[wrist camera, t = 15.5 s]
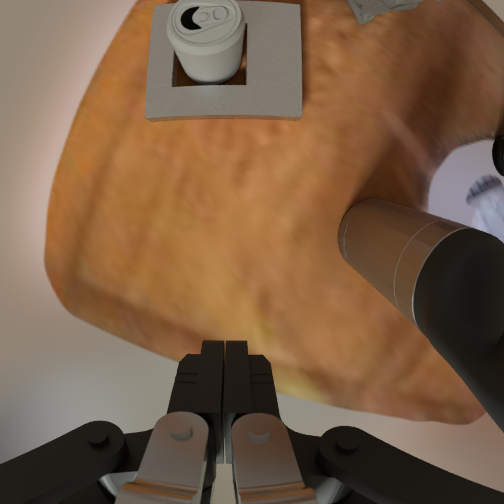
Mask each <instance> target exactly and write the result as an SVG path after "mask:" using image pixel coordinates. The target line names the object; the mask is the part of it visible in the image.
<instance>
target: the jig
mask: <svg viewBox="0 0 504 504" xmlns="http://www.w3.org/2000/svg"><path fill="white" fill-rule="evenodd" d="M236 2H237V3H238V5H239V6H240V8H241V9H242V11H243V13H244V16H245V29H244V34H246V70H245V85H206V86H183V87H177V72H178V56H177V54H176V52H175V50H174V48H173V46H172V44H171V42H170V40H169V38H168V35H167V30H166V25H167V21H168V18H169V14H170V11H171V10H172V8H173V6H174V5H175V4H176V3H171V4H162V5H154V13H153V20H152V29H151V38H150V48H149V59H148V71H147V87H146V107H145V119H147V120H149V121H151V122H160V121H176V120H199V119H263V120H286V121H297V120H299V119H300V118H302V50H301V18H300V5H298V4H289V3H278V2H264V1H236Z"/></svg>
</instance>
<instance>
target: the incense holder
mask: <svg viewBox="0 0 504 504" xmlns="http://www.w3.org/2000/svg"><path fill="white" fill-rule="evenodd" d="M346 1H347V2H348V4H349V6H350V7H351V9H352V11H353V13H354V15H355V17H356V19H357V21H358V24H359V25H363V24H365V23H367V22H370V21H371V20H372V19H373V18H374V16H376V15H379V14H383V13H386V12H389V11H392V10H398V11H402V10H410V9H413V8H415V7H416V6H417V4H418V3H419V2H421V1H424V0H346ZM438 1H442V0H438Z"/></svg>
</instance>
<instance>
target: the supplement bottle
mask: <svg viewBox="0 0 504 504" xmlns="http://www.w3.org/2000/svg"><path fill="white" fill-rule="evenodd" d="M492 157H493V162H494V165H495V168H496V170H497V171H498V173H499V174H500V175H502V176H504V135H499V136H498V137H497V138H496V139H495V141H494V143H493V149H492Z"/></svg>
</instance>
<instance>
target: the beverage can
mask: <svg viewBox="0 0 504 504" xmlns="http://www.w3.org/2000/svg"><path fill="white" fill-rule="evenodd" d="M244 29H245V16H244V13H243V11H242V9H241V8H240V6H239V5H238V3H237V2H236V1H235V0H179V1H178V2H177V3H176V4H175V5H174V6H173V8H172V10H171V11H170V14H169V18H168V21H167V25H166V30H167V35H168V38H169V40H170V42H171V44H172V46H173V48H174V50H175V52H176V54H177V56H178V58H179V60H180V62H181V64H182V66H183V68H184V71H185V72H186V74H187V75H188V76H189V77H190V78H191V79H192V80H193V81H195V82H197V83H200V84H203V85H216V84H220V83H223V82H225V81H227V80H229V79H230V78H231V77H232V76H233V75H234V74H235V73H236V72H237V70H238V68H239V66H240V62H241V54H242V45H243V37H244Z"/></svg>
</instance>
